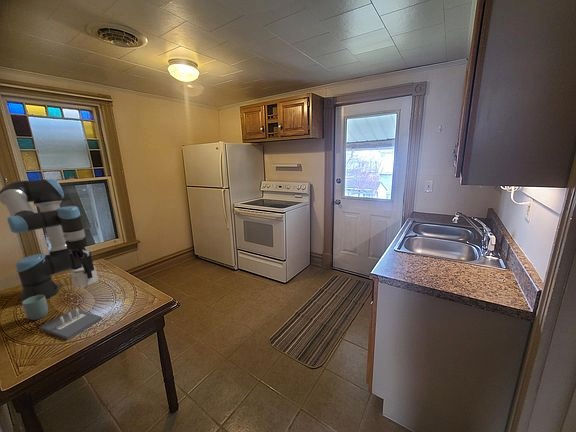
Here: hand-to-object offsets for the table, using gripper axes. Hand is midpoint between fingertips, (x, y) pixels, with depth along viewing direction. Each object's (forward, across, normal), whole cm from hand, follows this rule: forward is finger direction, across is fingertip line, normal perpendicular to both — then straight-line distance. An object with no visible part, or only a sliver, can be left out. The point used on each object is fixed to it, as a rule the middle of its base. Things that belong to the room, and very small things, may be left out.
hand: (86, 282), depth 120 cm
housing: (0, 0, 0) cm, 0 cm away
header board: (+15, +3, -11) cm, 19 cm away
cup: (+15, -19, -13) cm, 27 cm away
